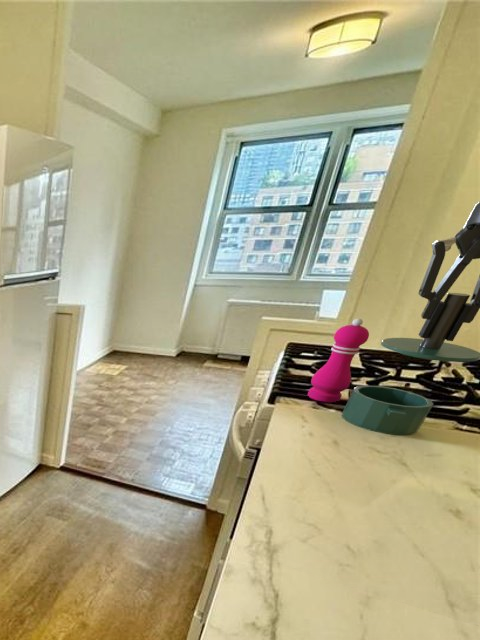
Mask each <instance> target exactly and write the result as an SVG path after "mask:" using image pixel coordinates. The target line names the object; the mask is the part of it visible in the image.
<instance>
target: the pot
mask: <svg viewBox="0 0 480 640" xmlns="http://www.w3.org/2000/svg"><path fill="white" fill-rule="evenodd" d="M433 406H434V402H433V401H432V400H431V399H430V398H427V397H425V396H423V395H421V394H417V393H414V392H412V391H409V390H403V389H400V388H394V387H389V386H384V385H358V386H356V387H354V388H353V389H352V391H351V394H350V396H349V397H348V400H347V402H346V404H345V406H344V408H343V410H342V414H341V417H342V419H343V420H345V421H346V422H348V423H349V424H351V425H353V426H356V427H359V428H362V429H364V430H368V431H371V432H375V433H376V432H377V433H380V434H386V435H395V436H410V435H414V434H416V433H418V431H419V430H420V428H421V427H422V425H423V423H424V422H425V420H426V418H427V417H428V415H429V413H430V411H431V410H432V408H433Z"/></svg>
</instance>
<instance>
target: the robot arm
mask: <svg viewBox="0 0 480 640" xmlns="http://www.w3.org/2000/svg"><path fill="white" fill-rule="evenodd" d="M454 244H455V246H456V248H457V251H458V252H459V254H458V256H457V257H456V259H455V260H454V263H453V264H452V266H451V267H450V268H449V270H448V271H447V272H446V274H445V275H444V277H442V279H441V280H440V281H439V283H438V284H437V286H436V287H435V289H434V290H433V288H434V286H435V283H436V280H437V279H438V275H439V273H440V271H441V268H442V265H443V262H444V260H445V257H446V252H449V251H450V250H451V249H452V246H453V245H454ZM431 248H432V249H431V250H432V255H431V257H430V261H429V263H428V266H427V268H426V271H425V274H424V276H423V279H422V282H421V284H420V287H419V289H418V295H419V296H420V297H422V298H424V299H426V300H427V302H426V305H425V307H424V308H423V311H422V312H421V319H423V320H425V321H424V323H423V325H422V327H421V329H420V330H419V332H418V336H419V338H420V339H424V338H427V337H428V335H429V333H430V331H431V329H432V327H433V326H434V324H435V322H436V320H437V318H438V316H439V315H440V313H441V311H442V309H443V307H444V305H445V303H444V300H443V299H444V297H445V296H446V295H447V294H448V293H449V291H450V289H451V288H452V287H453V285H454V284H455V282H457V280H458V278H459V277H460V276H461V274H462V273H463V272H464V270H465V269H466V267H468V266H469V265H470V264H471V262H472V261H473V260H479V259H480V201H478V202H477V203H475V204H474V207H473V208H472V210H471V212H470V214H469V216H468V218H467V220H466V221H465V223H464V225H463V227H462V228H461V229H460V230H459V231H458V232H457V233H456V234H455V235H454V236H452V237H449V238H445V239H441V240H440V239H436V240H434V241H432V243H431ZM479 310H480V274H479V275H478V278H477V281H476V284H475V286H474V289H473V292H472V295H471V296H470V302H466V304H465V306H464V307H463V309H462V311H461V313H460V315H459V316H458V318H457V320H456V322H455V323H454V325H453V327H452V329H451V331H450V332H449V334H448V336H447V338H446V339H445V341H447V342H453V341H454V340H455V338H456V336H457V335H458V332H459V331H460V329H461V327H462V326H463V324H471V323H472V322H473V321H474V319H475V318H476V316H477V314H478V312H479Z"/></svg>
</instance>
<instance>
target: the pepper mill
mask: <svg viewBox="0 0 480 640" xmlns="http://www.w3.org/2000/svg"><path fill="white" fill-rule="evenodd" d="M363 323H364V321H363V319H362V318H354V320H352V322H351V324H347V325H346V324H345V325H343V326H341V327H340V328H338V329H337V330H336V331H335V332H334V335H333V340H334V343H333V344H332V347H331V355H330V356H329V358H328V360H327V362H326V363H325V364H324V365H323V366H322V367H320V368H319V369H318V370H317V371H316V372H314V374H313V376H312V377H311V381H310V383H311V385H312V387H310V388H309V390H308V392H307V397H308V396H309V397H308V398H310V399H311V400H315V401H318V402H321V401H322V403H331V404H334V403H333V402H335V403H337V402H336V401H338V402H340V400H341V398H342V396H343V394H342V393H341V392H343V391H346V390H347V389H348V388H349V387H350V384H351V381H352V374H351V363H352V361H353V359H354V357H355V355H357V354H359V351H360V350H361V346H362V345H364V344H365V343H367V342H368V340H369V337H370V332H369V330H368V329H367V328H366V327H364V326H362V325H363Z"/></svg>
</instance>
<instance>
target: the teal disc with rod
mask: <svg viewBox="0 0 480 640" xmlns="http://www.w3.org/2000/svg"><path fill="white" fill-rule="evenodd" d="M445 296H446V297H445V298H444V300H443V302H444V303H445V305H444V307H443V309H442V311H441V313H440V315H439V316H438V318H437V320H436V322H435V324H434V326H433V327H432V329H431V331H430V333H429V335H428V337H427V338H416V337H415V338H414V337H387V338H384V339H382V340H381V342H380V345H381V346H382V347H383V348H385V349H387V350H390V351H392V352H396V353H398V354H402V355H404V356H408V357H412V358H417V359H422V360H430V361H437V362H466V363H467V362H477V361H479V360H480V352H479V351H478V350H475V349H473V348H470V347H467V346H463V345H460V344H459V345H458V344H455V343H450V342H445V341H446V338H447V336H448V334H449V332H450V331H451V329H452V327H453V325H454V323H455V322H456V320H457V318H458V316H459V315H460V313H461V311H462V309H463V307H464V306H465V304H466V303H468V300H469V299H470V298H471V295H470V294H467V293H461V292H447V293H446V295H445Z"/></svg>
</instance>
